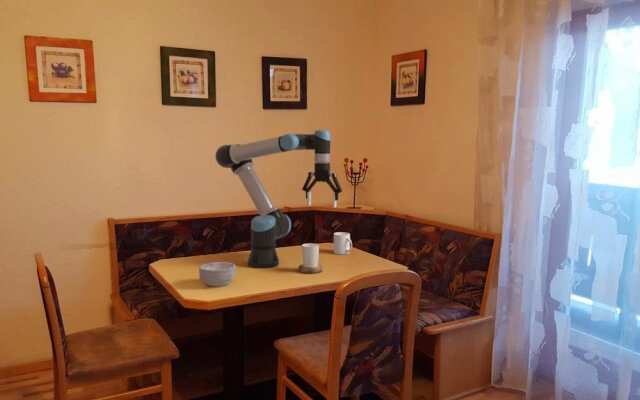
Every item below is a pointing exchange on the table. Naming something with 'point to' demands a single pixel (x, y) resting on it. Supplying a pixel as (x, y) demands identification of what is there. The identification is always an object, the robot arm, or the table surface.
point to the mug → (342, 243)
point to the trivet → (310, 269)
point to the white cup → (310, 255)
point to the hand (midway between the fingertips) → (321, 206)
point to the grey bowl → (217, 273)
